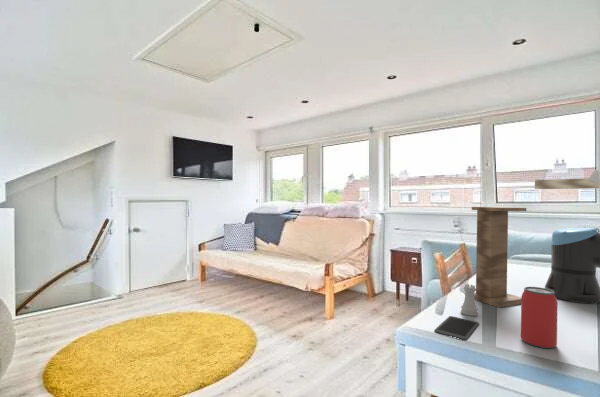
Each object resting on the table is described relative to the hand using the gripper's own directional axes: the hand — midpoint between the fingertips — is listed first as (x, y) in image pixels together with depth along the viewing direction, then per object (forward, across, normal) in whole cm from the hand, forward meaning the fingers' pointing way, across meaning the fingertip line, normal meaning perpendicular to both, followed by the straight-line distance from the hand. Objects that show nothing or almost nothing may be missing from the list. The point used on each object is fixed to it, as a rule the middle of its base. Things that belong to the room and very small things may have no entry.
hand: (597, 174), depth 81 cm
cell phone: (-7, -31, -41) cm, 52 cm away
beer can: (-18, -21, -35) cm, 45 cm away
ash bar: (+2, 0, -5) cm, 5 cm away
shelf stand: (+3, 0, -46) cm, 46 cm away
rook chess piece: (-2, -19, -44) cm, 48 cm away
